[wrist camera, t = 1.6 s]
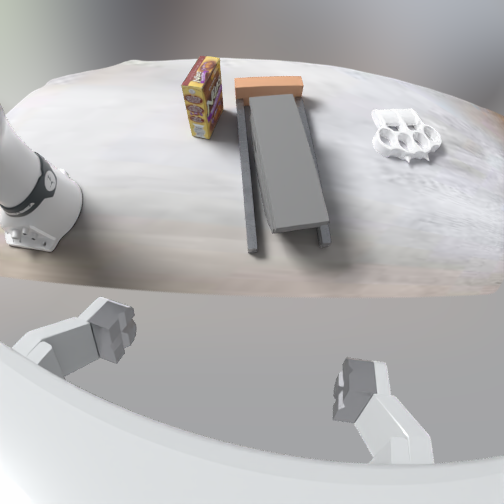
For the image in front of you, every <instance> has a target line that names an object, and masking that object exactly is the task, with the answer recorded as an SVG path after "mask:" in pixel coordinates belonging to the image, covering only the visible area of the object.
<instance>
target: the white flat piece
mask: <svg viewBox="0 0 504 504" xmlns="http://www.w3.org/2000/svg"><path fill="white" fill-rule="evenodd" d="M371 114H372V119H373V121H374V123H375V125H376V126H377V127H378V131H377V132H376V134H375V136H374V138H373V141H372V142H373V146H374V148H375V150H376V151H377V152H378V153H379V154H380V155H382V156H384V157H389V156H395V157H398V158H400V159H401V160H406V161H407V162H408V163H410V160H411V159H413V158H417V159H422V158H425V159H426V160H428V161H429V156H428V153H429V152H435V151H436V150H437V149H438V148H439V147H440V145H441V143H442V139H441V136H440V134H439V133H438V131H437V130H436V129H435V128H433V127H432V126H430V125H426V124H425V123H424V122H422V121H421V119H420V117H419V116H418V114H417V112H416V111H415V110H413V109H411V108H409V109H389V110H376V109H374V110H372V112H371ZM408 125H413V127H414V128H415V129H416V130H410V129H409V128H408V127H407V126H408ZM391 126H396V127H397V129H398V131H393V130H392V129H390V128H388V127H391ZM425 134H426V135H428V136H429V137H430V139H431V140H432V141H431V140H430V139H429V138H428V137H427V136H426V135H425ZM380 136H381V137H385V138H386V139H388V141H389V142H390V144H391V146H388V145H386V144H384V143H383V142H382V141H381V139H380ZM414 140H416V141H418V142H419V143H420V144H421V146H422V147H423V148H421V147H420V146H419V145H418V144H417V143H416V142H415V141H414ZM399 141H402V142H403V143H405V144H406V146H407V148H408V150H405V149H404V148H402V147H401V145H400V144H399Z"/></svg>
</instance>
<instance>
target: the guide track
mask: <svg viewBox="0 0 504 504" xmlns="http://www.w3.org/2000/svg"><path fill="white" fill-rule="evenodd" d="M294 100H295V103H296V106H297V109H298V112H299V115H300V118H301V121H302V124H303V127H304V131H305V134H306V137H307V140H308V144H309V147H310V150H311V154H312V157H313V161H314V164H315V168H316V171H317V175H318V178H319V182H320V186H321V181H320V176H319V171H318V167H317V162H316V157H315V152H314V148H313V143H312V139H311V134H310V130H309V126H308V121H307V117H306V113H305V109H304V105H303V101H302V97H301V96H300V97H294ZM236 108H237V121H238V133H239V146H240V158H241V170H242V183H243V195H244V207H245V219H246V231H247V243H248V253H256V252H257V239H256V228H255V217H254V206H253V196H252V185H251V175H250V164H249V154H248V144H247V133H246V123H245V113H244V103H243V98H241V99H236ZM321 189H322V187H321ZM322 193H323V192H322ZM317 232H318V239H319V246H320V247H328V246H329V245H330V243H331V237H330V231H329V225H328V224H327V225H322V226H320V227H317Z"/></svg>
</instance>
